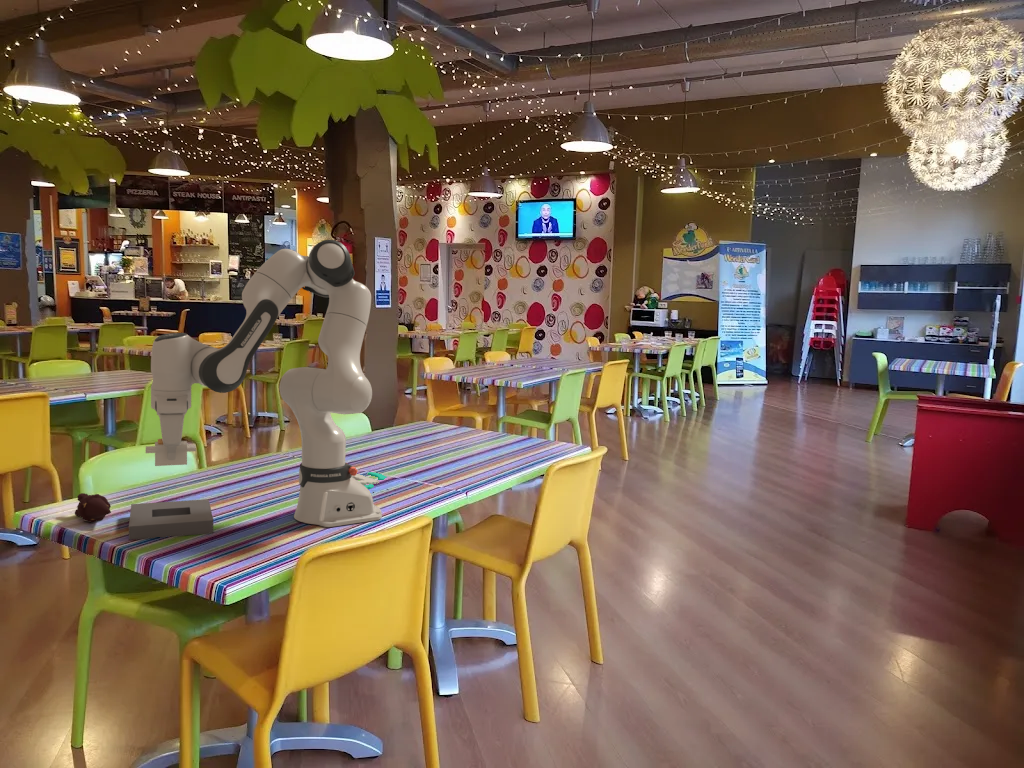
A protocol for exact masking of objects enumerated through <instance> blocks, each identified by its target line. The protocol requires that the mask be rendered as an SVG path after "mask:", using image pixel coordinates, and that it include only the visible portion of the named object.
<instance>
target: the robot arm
mask: <svg viewBox="0 0 1024 768" xmlns="http://www.w3.org/2000/svg"><path fill="white" fill-rule="evenodd" d="M354 269H355V268H354V265H353V262H352V256H351V255H350V252H349V250H348V249H347V247H346V246H345V245H344V244H343V243H342V242H340V241H337V240H334V239H324V240H321V241H320V242H317V243H316V244H315V245H314V246H313V247H312V249H311V250H310V252H309V255H301V254H300V253H299V252H298V251H295V250H294V249H289V248H282V249H279V250H278V251H276V252H275V253H274V254H273V255H271V256H270V257H269V258H268V259H266V260H265V261H264V263H263V264H261V266H260V267H258V269H257V270H256V271H255V273H254V274H252V276H251V277H250V278H249V280H248V281H247V283H246V284H245V287H244V288H243V290H242V292H241V300H242V304H243V307H244V309H245V310H246V311H245V312H246V314H245V318H244V319H243V322H242V323H241V324H240V325H239V328H238V329H237V330H236V331H235V333H234V335H233V336H232V337H231V339H230V340H229V342H228V343H227V344H226V345H224V346H223V347H220V348H217V347H214V346H210V345H207V344H205V343H204V342H201V341H198V340H196V339H195V338H193V337H192V336H190V335H188V334H187V333H185V332H171V333H165V334H161V335H158V336H157V337H156V338H155V339H154V340H153V343H152V347H151V355H150V372H151V376H152V381H151V385H150V408H151V409H152V410H154V411H155V412H156V415H157V416H158V418H159V423H160V430H161V431H160V432H161V439H162V440H163V444H164V446H167V459H168V460H175V459H176V447H177V446H179V445H180V444H181V441H182V439H183V438H182V437H183V428H184V420H185V415H186V414H187V413H188V410H189V409H191V408H192V387H193V385H194V384H199V385H202V386H204V387H206V388H208V389H209V390H211V391H213V392H214V393H215V392H216V393H221V394H223V393H230V392H233V391H235V390H236V389H237V388H239V387H240V386H241V385H242V383H243V382H244V380H245V377H246V375H247V372H248V368H249V365H250V362H251V360H252V358H253V356H254V355H255V354H256V353H257V351H258V350H259V348H260V346H261V345H262V343H263V342H264V340H265V339H266V337H267V336H268V335H269V333H270V332H271V329H272V328H273V326H274V325H275V323H276V322H277V320H278V318H279V317H280V314H281V313H283V310H285V308H286V307H287V305H288V304H289V303H290V301H291V300H292V299H293V298H294V297H295V296H296V294H297V293H298V291H299V290H301V289H302V290H303V291H307V292H309V293H312V294H315V295H317V296H319V297H323V298H329V299H328V306H327V309H326V313H325V315H324V318H323V322H322V325H321V328H320V332H319V335H318V339H317V343H318V347H319V348H320V350H321V351H322V353H324V354H325V356H327V359H328V362H327V367H326V368H319V367H310V366H303V367H302V366H301V367H293V368H290V369H288V370H286V371H285V372H284V374H283V375H282V376H281V379H280V382H279V387H278V388H279V394H280V397H281V399H282V401H283V402H284V403H285V404H287V406H288V407H289V408H290V409H291V411H292V413H293V415H294V416H295V418H296V421H297V424H298V427H299V431H300V436H301V437H300V439H301V463H299V470H298V471H299V472H298V483H299V495H298V500H297V505H296V509H295V512H294V514H293V518H294V519H295V520H296V521H298V522H301V523H304V524H311V525H317V526H321V527H323V528H324V527H325V528H332V527H340V526H346V525H352V524H360V523H365V522H373V521H379V520H380V518H381V519H382V517H383V513H382V510H381V508H380V507H379V506H377V505H376V504H374V499H373V495H372V493H370V491H369V490H368V489H367V488H366V487H365V486H364V485H362V484H361V483H360V482H358V481H357V480H356V479H354V478H353V477H352V476H355V475H356V474H357V472H358V470H359V469H357V468H356V467H355V466H353V465H352V464H349V463H347V462H346V453H347V452H346V447H347V437H346V434H345V432H344V431H343V430H344V429H341V428H340V427H339V425H338V424H336V423H335V421H334V419H333V417H332V414H338V415H355V414H361V413H363V412H364V411H365V410H367V408H368V407H369V405H370V404H371V402H372V399H373V389H372V385H371V382H370V381H369V379H368V377H366V375H365V374H364V371H363V369H362V366H361V349H362V347H363V341H364V338H365V335H366V329H367V327H368V323H369V319H370V312H371V306H372V294H371V291H370V289H369V288H368V286H366V285H365V284H363V283H362V282H359V281H356V280H355V279H354V277H355V274H356V273H355V270H354Z"/></svg>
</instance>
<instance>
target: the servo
mask: <svg viewBox="0 0 1024 768" xmlns="http://www.w3.org/2000/svg"><path fill="white" fill-rule="evenodd" d="M188 452H191V453H192V452H197V446H196V444H188V441H187V440H181V444H180V445H179V446H177V447H176V459H175V460H168V459H167V446H164V444H163V440H162V438H158V439H157V441H155V442H154V445H153V446H151V445H148V446H145V454H154V466H155V467H161V466H163V467H165V466H183V465H184V466H185V465H188Z"/></svg>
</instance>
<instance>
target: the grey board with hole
mask: <svg viewBox="0 0 1024 768" xmlns="http://www.w3.org/2000/svg"><path fill="white" fill-rule="evenodd" d="M129 514H130V515H129V521H128V541H131V539H136V540H144V539H147V538H148V539H156V538H155V537H160V538H169V537H170V536H172V537H181V536H194V535H195V536H196V535H203V534H204V535H205V534H206V535H207V534H214V517H213V512H212V509H211V503H210V499H206V498H205V499H191V500H176V501H160V502H159V501H158V502H145V503H131V505H130V512H129ZM166 536H168V537H166ZM148 539H147V540H148Z"/></svg>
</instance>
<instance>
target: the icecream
mask: <svg viewBox="0 0 1024 768" xmlns="http://www.w3.org/2000/svg"><path fill="white" fill-rule="evenodd" d="M76 498H77V501H79V503H78V504H77V506H76V510H75V511H74V515H75V516H77V517H79V518H81V519H82V520H83V521H85V522H88V523H90V524H91V523H96V522H101V521H103V519H104V518H106V516H107V515H109V514H112V511H111V510H110V508H111V507H112V506H111V503H110V502H109V501H108V499H107V497H105V496H103V495H101V494H99V493H96V494H88V493H85V492H83V493H78V495H77V497H76Z"/></svg>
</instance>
